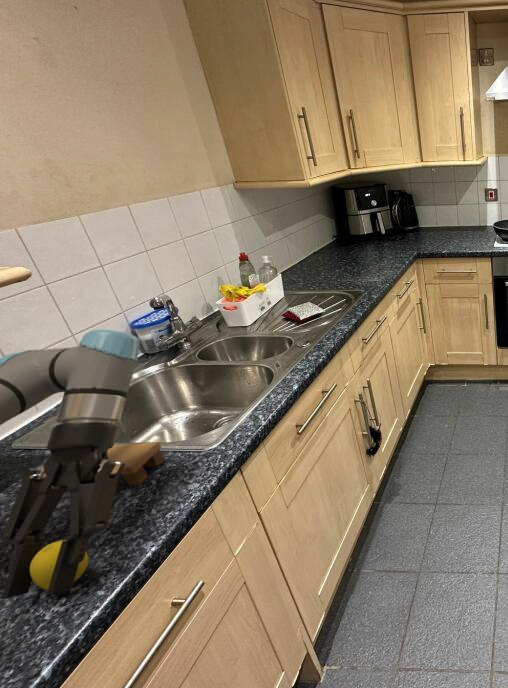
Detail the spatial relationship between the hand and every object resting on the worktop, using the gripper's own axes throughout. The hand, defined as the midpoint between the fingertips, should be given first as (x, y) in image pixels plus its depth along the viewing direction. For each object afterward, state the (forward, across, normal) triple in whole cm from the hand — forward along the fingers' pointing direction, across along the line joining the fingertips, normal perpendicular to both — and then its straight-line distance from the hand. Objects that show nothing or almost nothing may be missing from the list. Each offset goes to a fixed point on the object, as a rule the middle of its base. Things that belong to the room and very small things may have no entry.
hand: (37, 593), depth 57 cm
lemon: (0, 0, -5) cm, 5 cm away
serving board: (-16, +12, -22) cm, 29 cm away
